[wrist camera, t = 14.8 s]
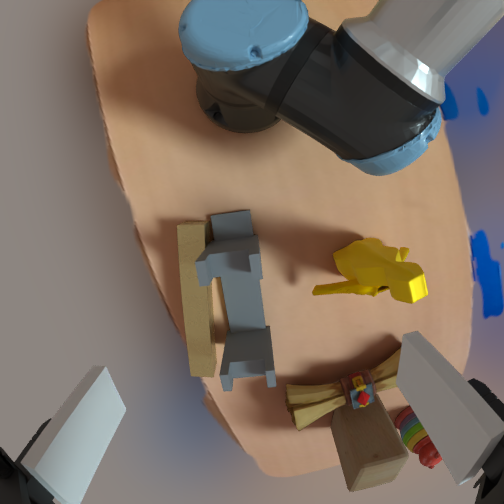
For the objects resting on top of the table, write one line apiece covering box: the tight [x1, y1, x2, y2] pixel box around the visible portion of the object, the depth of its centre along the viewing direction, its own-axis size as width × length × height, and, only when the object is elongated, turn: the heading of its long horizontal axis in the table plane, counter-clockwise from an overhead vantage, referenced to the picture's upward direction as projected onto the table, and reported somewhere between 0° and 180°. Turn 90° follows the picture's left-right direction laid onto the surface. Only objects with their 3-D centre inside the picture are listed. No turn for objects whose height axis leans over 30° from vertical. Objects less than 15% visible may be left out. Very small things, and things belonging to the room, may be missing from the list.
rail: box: [177, 221, 217, 377], centre depth 45 cm, size 26×4×5 cm, turn 0°
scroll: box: [285, 347, 401, 431], centre depth 46 cm, size 27×10×10 cm, turn 108°
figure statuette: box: [312, 238, 428, 304], centre depth 34 cm, size 18×8×22 cm, turn 113°
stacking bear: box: [395, 406, 442, 469], centre depth 46 cm, size 11×10×18 cm
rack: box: [195, 210, 276, 391], centre depth 40 cm, size 27×7×13 cm, turn 8°
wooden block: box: [331, 394, 409, 492], centre depth 43 cm, size 10×10×20 cm
